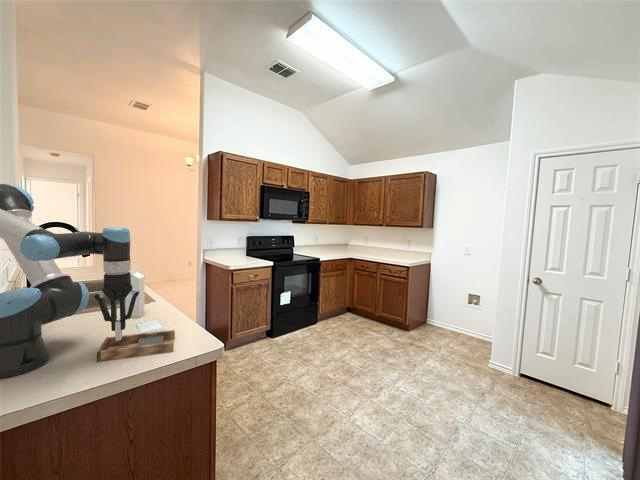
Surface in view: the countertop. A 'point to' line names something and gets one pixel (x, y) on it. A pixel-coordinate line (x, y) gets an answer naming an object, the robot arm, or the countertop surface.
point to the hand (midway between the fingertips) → (118, 338)
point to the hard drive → (149, 326)
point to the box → (134, 346)
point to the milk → (137, 284)
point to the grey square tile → (151, 340)
